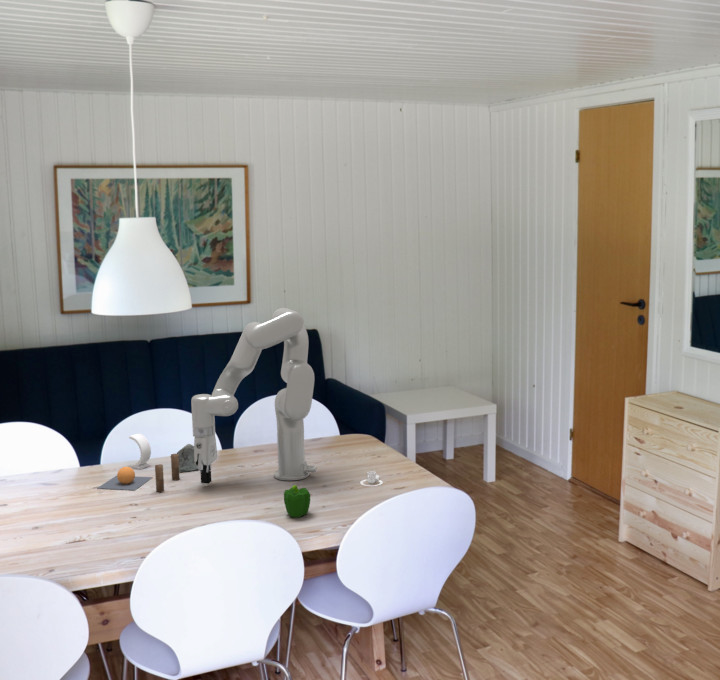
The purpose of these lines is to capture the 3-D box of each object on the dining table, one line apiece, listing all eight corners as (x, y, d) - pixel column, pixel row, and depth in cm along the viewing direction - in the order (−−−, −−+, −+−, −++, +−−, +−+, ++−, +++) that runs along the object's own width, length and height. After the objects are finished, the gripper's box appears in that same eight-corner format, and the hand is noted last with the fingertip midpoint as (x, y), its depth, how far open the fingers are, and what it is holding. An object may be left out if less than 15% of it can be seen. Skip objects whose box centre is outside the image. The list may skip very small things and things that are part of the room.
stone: (187, 445, 294) (193, 437, 305) (166, 463, 295) (172, 454, 306) (205, 465, 296) (211, 456, 306) (185, 482, 297) (191, 473, 307)
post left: (165, 490, 277) (164, 464, 276) (162, 492, 275) (160, 466, 273) (158, 489, 278) (156, 464, 276) (155, 492, 275) (153, 466, 274)
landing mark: (152, 477, 291) (152, 477, 291) (134, 490, 277) (134, 489, 277) (116, 476, 294) (116, 475, 294) (97, 488, 280) (96, 488, 280)
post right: (180, 478, 290) (179, 453, 289) (177, 480, 287) (176, 455, 286) (173, 477, 290) (172, 453, 289) (170, 480, 288) (169, 455, 287)
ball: (119, 476, 288) (134, 484, 288) (111, 481, 282) (126, 489, 282) (125, 461, 287) (140, 469, 287) (118, 466, 281) (133, 474, 281)
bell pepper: (296, 508, 257) (295, 477, 256) (316, 513, 252) (315, 482, 251) (277, 515, 251) (276, 484, 250) (297, 521, 246) (296, 489, 244)
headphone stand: (139, 464, 308) (137, 433, 306) (151, 466, 305) (150, 435, 303) (130, 467, 304) (129, 436, 302) (143, 469, 301) (141, 437, 299)
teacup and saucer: (373, 478, 288) (372, 467, 287) (389, 483, 282) (389, 471, 281) (355, 484, 282) (355, 472, 281) (371, 489, 276) (371, 477, 275)
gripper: (206, 436, 269) (208, 490, 272) (222, 425, 284) (224, 476, 286) (184, 436, 271) (187, 489, 273) (201, 425, 285) (203, 475, 288)
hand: (206, 482), depth 280 cm, fingers closed
